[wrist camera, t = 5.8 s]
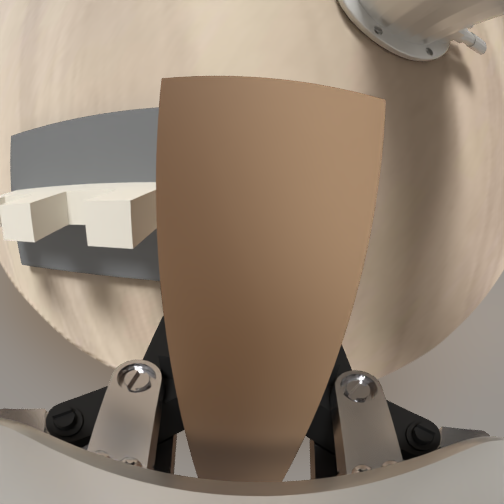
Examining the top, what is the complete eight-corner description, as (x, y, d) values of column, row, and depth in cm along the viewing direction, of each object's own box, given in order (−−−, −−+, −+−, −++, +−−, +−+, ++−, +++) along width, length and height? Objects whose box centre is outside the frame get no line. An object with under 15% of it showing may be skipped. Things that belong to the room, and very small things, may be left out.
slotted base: (194, 108, 18) (156, 78, 10) (190, 276, 23) (161, 344, 14) (18, 135, 18) (-45, 142, 9) (28, 260, 22) (-24, 297, 14)
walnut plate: (281, 138, 16) (385, 100, 3) (263, 325, 21) (271, 498, 8) (233, 134, 16) (162, 78, 3) (225, 323, 21) (204, 496, 8)
